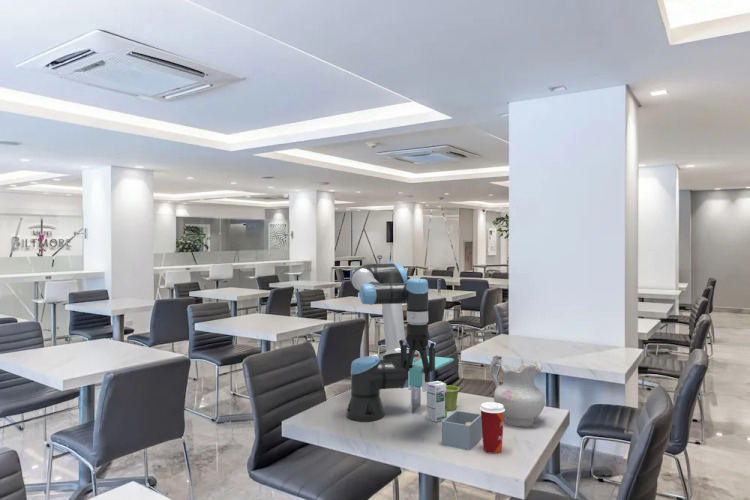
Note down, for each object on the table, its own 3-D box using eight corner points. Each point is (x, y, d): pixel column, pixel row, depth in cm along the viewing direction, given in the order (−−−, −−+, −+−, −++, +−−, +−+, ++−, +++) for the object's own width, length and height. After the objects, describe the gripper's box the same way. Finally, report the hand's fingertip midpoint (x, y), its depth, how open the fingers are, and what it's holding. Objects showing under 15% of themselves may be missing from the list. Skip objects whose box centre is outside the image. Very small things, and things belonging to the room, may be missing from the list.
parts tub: (469, 450, 170) (469, 426, 171) (441, 444, 175) (441, 421, 176) (482, 436, 183) (482, 414, 183) (456, 432, 188) (456, 410, 188)
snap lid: (429, 387, 173) (429, 370, 173) (401, 384, 179) (401, 367, 179) (453, 373, 193) (453, 358, 193) (428, 370, 199) (428, 355, 199)
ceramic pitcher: (482, 426, 197) (480, 363, 195) (495, 408, 214) (493, 350, 212) (540, 435, 187) (539, 369, 185) (548, 416, 204) (548, 355, 202)
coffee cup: (508, 454, 167) (508, 408, 167) (484, 455, 166) (483, 409, 166) (500, 444, 175) (500, 400, 175) (476, 445, 175) (476, 401, 175)
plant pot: (442, 412, 210) (441, 391, 210) (434, 406, 219) (434, 386, 219) (463, 411, 212) (463, 390, 212) (454, 404, 221) (454, 384, 221)
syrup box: (435, 422, 198) (435, 385, 198) (426, 418, 203) (426, 382, 203) (447, 419, 201) (446, 383, 201) (437, 415, 206) (437, 380, 206)
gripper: (390, 322, 179) (390, 389, 179) (436, 326, 170) (437, 396, 170) (399, 320, 186) (400, 384, 185) (445, 323, 177) (445, 390, 177)
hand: (417, 389), depth 178 cm, fingers closed on snap lid, 5 cm apart
